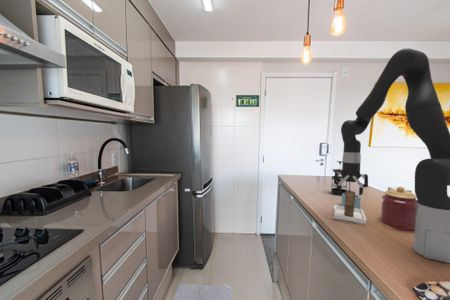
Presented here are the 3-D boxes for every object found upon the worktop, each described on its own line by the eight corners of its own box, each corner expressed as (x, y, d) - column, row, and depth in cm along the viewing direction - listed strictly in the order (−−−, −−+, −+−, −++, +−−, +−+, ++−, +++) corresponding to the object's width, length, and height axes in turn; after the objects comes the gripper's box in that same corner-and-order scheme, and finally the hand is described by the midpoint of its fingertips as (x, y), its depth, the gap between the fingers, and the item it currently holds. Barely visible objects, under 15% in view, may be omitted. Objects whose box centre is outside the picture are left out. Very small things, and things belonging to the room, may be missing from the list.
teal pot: (360, 211, 108) (361, 199, 108) (341, 208, 112) (342, 196, 112) (358, 206, 116) (359, 194, 115) (341, 204, 120) (341, 192, 119)
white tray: (366, 225, 92) (366, 220, 92) (333, 219, 98) (334, 214, 98) (362, 214, 105) (362, 209, 105) (334, 209, 111) (334, 205, 111)
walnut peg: (353, 217, 99) (355, 193, 97) (344, 215, 101) (345, 192, 99) (353, 214, 102) (354, 191, 101) (343, 212, 104) (345, 190, 103)
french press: (330, 195, 137) (331, 161, 135) (329, 191, 146) (330, 160, 144) (350, 197, 132) (352, 162, 131) (348, 193, 141) (350, 161, 139)
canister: (421, 234, 84) (425, 192, 83) (382, 226, 91) (384, 188, 90) (413, 222, 95) (415, 185, 94) (378, 216, 102) (380, 182, 101)
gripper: (334, 161, 100) (333, 193, 101) (370, 163, 93) (368, 198, 94) (334, 159, 106) (333, 190, 107) (367, 161, 99) (366, 193, 101)
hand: (349, 193), depth 101 cm, fingers open, 8 cm apart
